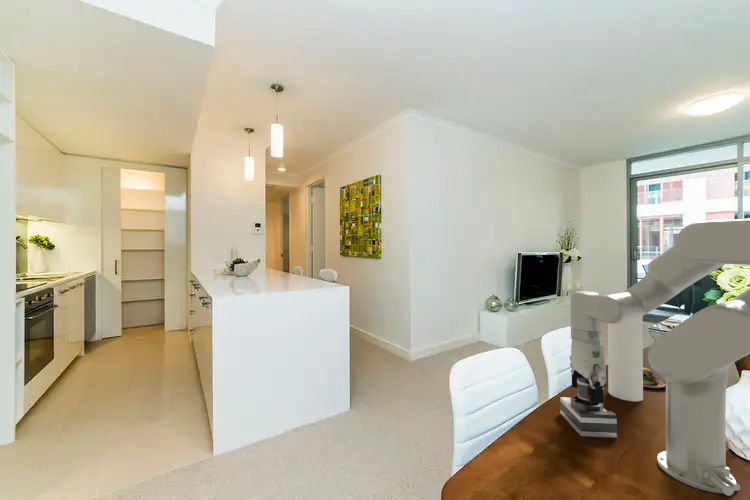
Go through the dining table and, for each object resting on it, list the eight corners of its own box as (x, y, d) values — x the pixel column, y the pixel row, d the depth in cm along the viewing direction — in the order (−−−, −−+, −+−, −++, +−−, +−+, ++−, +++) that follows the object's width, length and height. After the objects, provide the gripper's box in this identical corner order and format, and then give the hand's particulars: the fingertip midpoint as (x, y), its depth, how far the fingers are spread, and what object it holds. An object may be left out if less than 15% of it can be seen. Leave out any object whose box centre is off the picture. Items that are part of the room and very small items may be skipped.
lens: (600, 411, 90) (599, 382, 90) (582, 411, 91) (582, 382, 91) (590, 403, 95) (590, 376, 95) (574, 403, 95) (573, 375, 95)
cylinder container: (649, 402, 106) (649, 310, 106) (617, 400, 108) (616, 309, 108) (632, 390, 115) (632, 305, 115) (603, 388, 117) (602, 304, 117)
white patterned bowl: (620, 383, 121) (620, 363, 121) (630, 376, 128) (630, 357, 128) (662, 395, 112) (662, 373, 112) (671, 386, 119) (670, 365, 119)
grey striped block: (617, 437, 87) (617, 410, 86) (580, 436, 88) (580, 409, 87) (591, 414, 99) (591, 391, 99) (560, 413, 100) (560, 389, 99)
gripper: (619, 344, 84) (620, 410, 84) (584, 327, 101) (584, 382, 101) (588, 343, 85) (589, 409, 85) (558, 327, 102) (558, 381, 102)
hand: (586, 394), depth 93 cm, fingers open, 9 cm apart
